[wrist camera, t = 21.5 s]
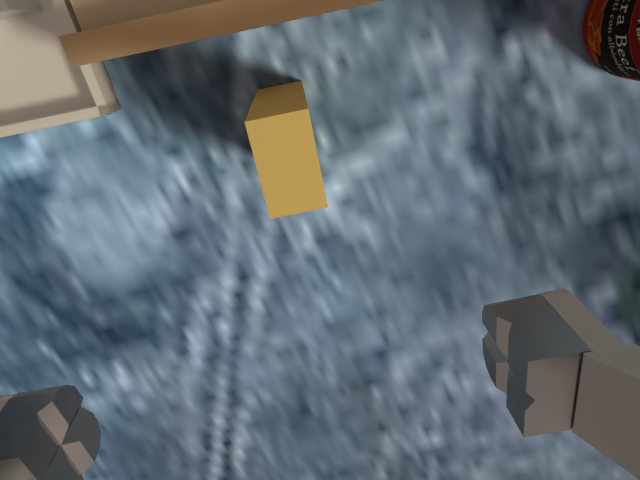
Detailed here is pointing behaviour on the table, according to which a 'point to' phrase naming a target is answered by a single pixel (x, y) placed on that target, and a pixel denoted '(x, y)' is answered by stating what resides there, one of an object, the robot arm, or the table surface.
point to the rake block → (285, 150)
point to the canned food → (614, 36)
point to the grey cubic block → (18, 8)
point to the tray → (47, 73)
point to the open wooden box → (175, 23)
